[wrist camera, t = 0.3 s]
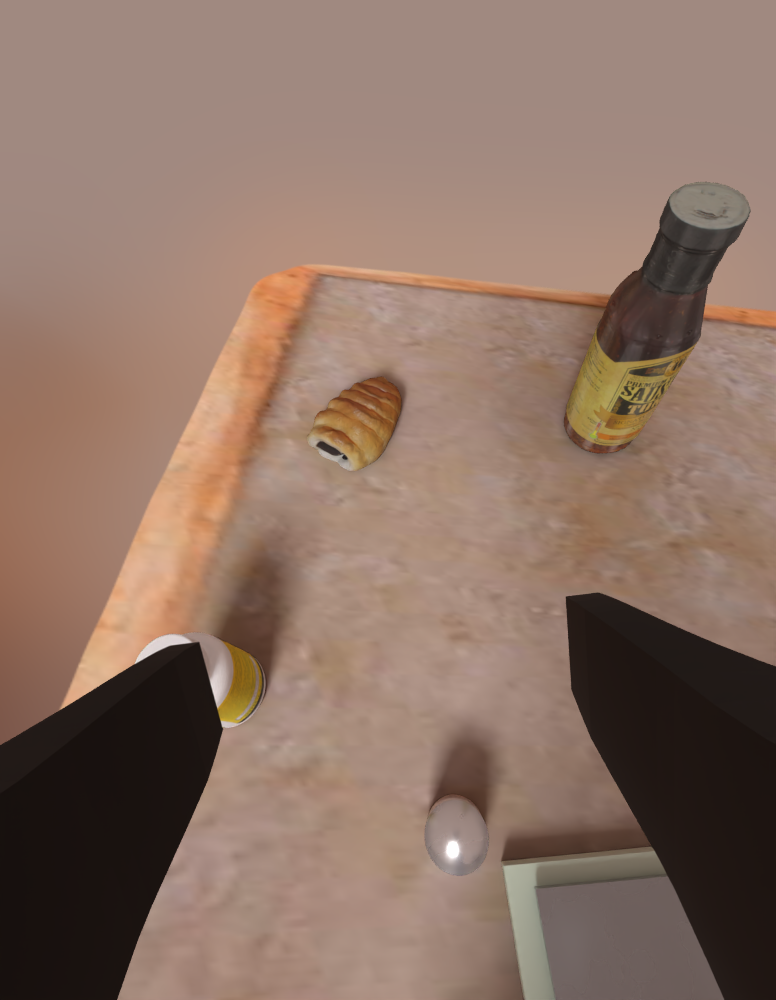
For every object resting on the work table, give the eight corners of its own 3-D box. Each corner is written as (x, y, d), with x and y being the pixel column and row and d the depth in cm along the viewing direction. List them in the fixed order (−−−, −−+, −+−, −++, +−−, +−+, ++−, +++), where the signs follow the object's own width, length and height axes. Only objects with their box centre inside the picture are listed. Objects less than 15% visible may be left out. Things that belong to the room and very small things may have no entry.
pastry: (362, 378, 49) (355, 351, 46) (421, 405, 47) (419, 379, 44) (304, 450, 46) (293, 427, 43) (365, 483, 44) (359, 461, 41)
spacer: (489, 858, 31) (494, 872, 28) (431, 863, 32) (429, 878, 28) (478, 791, 33) (482, 796, 29) (423, 797, 33) (420, 803, 30)
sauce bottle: (594, 470, 42) (701, 268, 24) (546, 419, 45) (611, 202, 27) (656, 433, 43) (803, 211, 25) (605, 384, 46) (706, 153, 28)
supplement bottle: (262, 642, 39) (208, 611, 30) (272, 717, 36) (216, 706, 28) (193, 661, 39) (119, 635, 30) (198, 737, 36) (119, 733, 27)
